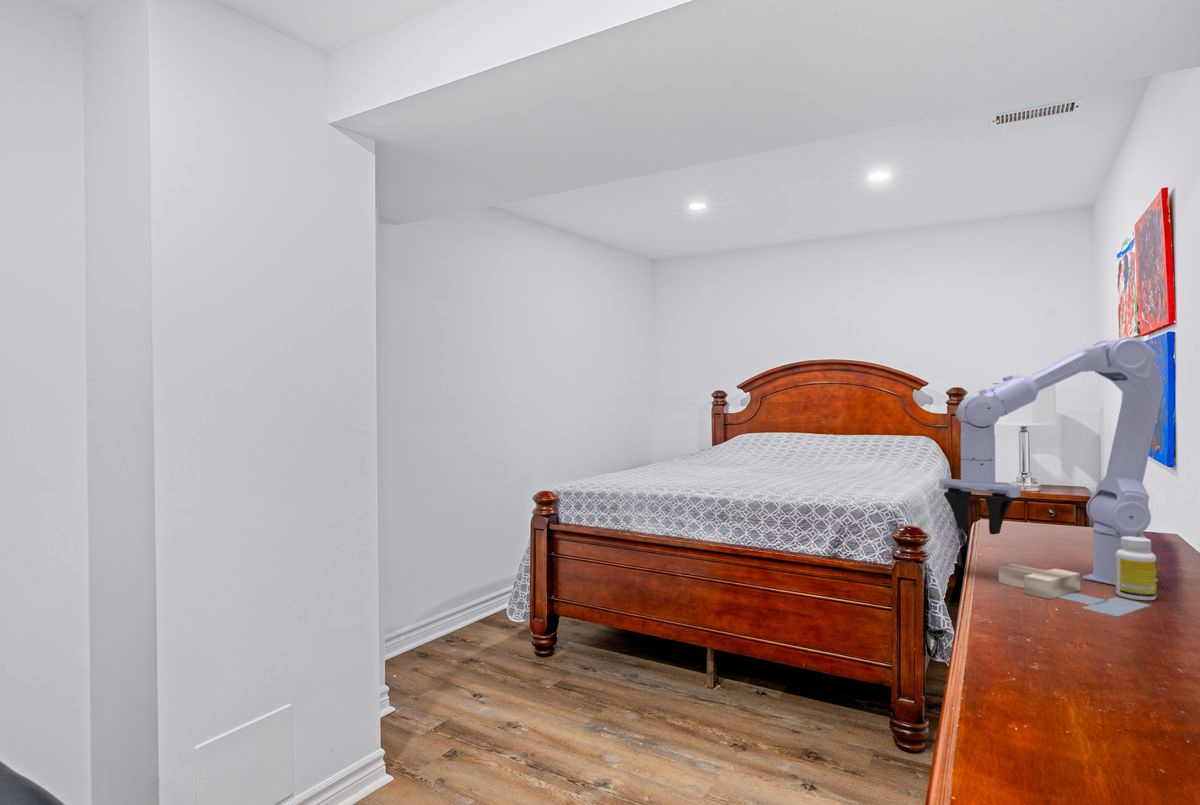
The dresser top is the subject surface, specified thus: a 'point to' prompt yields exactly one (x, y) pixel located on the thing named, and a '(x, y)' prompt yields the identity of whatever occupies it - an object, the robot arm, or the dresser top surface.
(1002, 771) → the dresser top surface
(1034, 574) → the maple t block
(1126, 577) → the supplement bottle
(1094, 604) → the slate t outline
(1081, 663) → the dresser top surface
